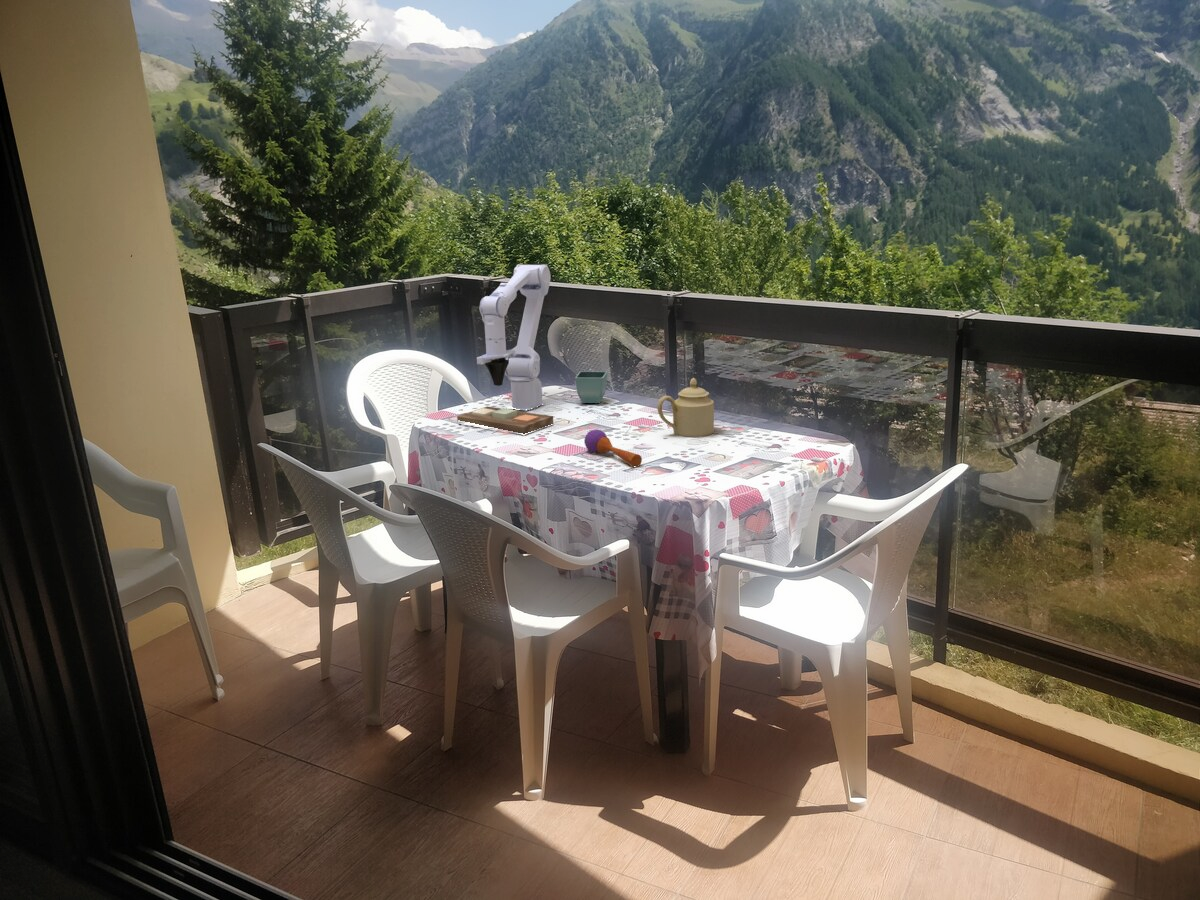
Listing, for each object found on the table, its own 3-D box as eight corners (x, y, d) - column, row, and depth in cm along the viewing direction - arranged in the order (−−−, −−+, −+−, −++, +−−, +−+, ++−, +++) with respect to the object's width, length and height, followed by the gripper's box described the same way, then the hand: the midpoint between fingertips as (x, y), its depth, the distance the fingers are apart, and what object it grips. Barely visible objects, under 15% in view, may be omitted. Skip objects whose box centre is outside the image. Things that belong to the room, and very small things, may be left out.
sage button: (504, 416, 276) (503, 408, 276) (517, 418, 274) (516, 410, 273) (492, 420, 273) (491, 412, 272) (505, 422, 270) (505, 414, 269)
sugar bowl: (687, 443, 249) (687, 386, 245) (655, 436, 256) (654, 381, 252) (722, 430, 259) (722, 376, 255) (690, 424, 267) (689, 371, 262)
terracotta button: (525, 423, 272) (524, 414, 272) (539, 425, 269) (538, 416, 269) (514, 427, 268) (513, 418, 268) (527, 429, 266) (527, 420, 265)
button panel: (488, 414, 286) (487, 406, 285) (553, 424, 272) (553, 416, 271) (457, 424, 276) (457, 416, 275) (524, 435, 261) (523, 426, 261)
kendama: (625, 454, 228) (578, 431, 243) (628, 476, 231) (581, 452, 246) (644, 445, 231) (597, 423, 246) (647, 467, 234) (600, 444, 249)
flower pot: (604, 406, 290) (603, 377, 288) (575, 406, 292) (574, 377, 289) (608, 399, 299) (607, 371, 296) (580, 399, 300) (579, 371, 297)
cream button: (483, 416, 281) (483, 408, 281) (496, 418, 278) (495, 410, 278) (472, 420, 277) (471, 411, 277) (485, 422, 275) (484, 414, 274)
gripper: (488, 343, 265) (491, 391, 268) (522, 335, 276) (524, 381, 279) (470, 341, 269) (473, 388, 272) (504, 334, 280) (506, 379, 283)
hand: (498, 385), depth 276 cm, fingers closed
